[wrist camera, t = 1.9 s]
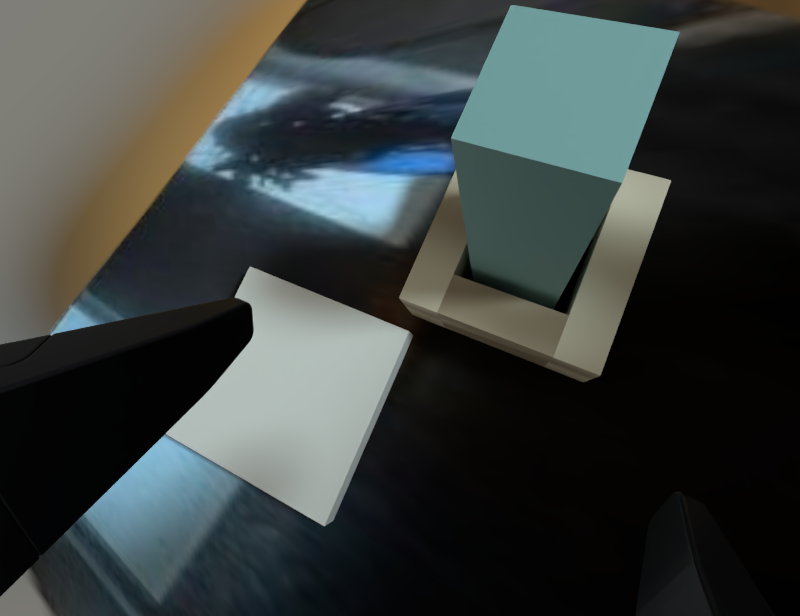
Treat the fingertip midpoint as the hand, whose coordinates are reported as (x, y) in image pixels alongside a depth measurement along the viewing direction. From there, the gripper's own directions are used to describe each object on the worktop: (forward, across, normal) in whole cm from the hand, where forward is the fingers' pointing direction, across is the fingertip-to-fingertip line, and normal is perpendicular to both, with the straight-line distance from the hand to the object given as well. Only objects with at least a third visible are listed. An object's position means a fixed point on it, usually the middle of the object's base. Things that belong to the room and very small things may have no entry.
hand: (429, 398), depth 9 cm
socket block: (+15, 0, +4) cm, 15 cm away
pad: (+8, +9, +11) cm, 16 cm away
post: (+15, 0, +4) cm, 16 cm away
